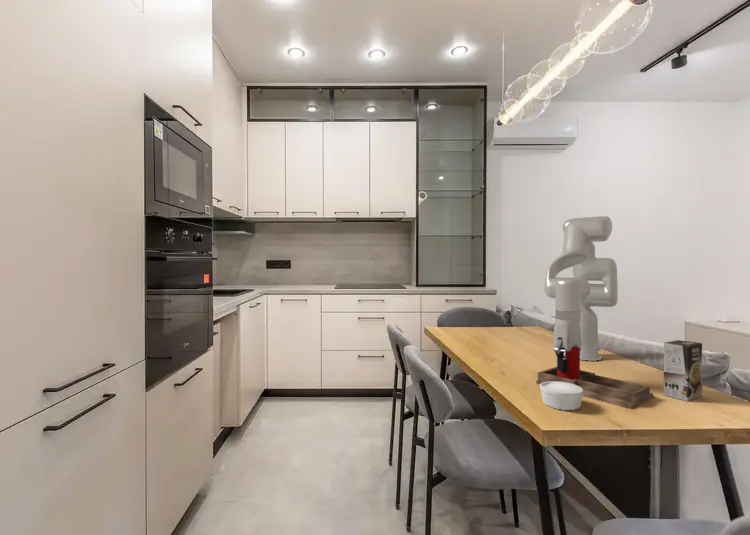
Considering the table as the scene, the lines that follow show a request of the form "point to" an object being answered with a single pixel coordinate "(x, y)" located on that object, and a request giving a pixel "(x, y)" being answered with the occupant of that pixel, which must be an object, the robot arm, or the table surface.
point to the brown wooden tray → (602, 388)
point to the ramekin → (561, 395)
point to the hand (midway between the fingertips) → (568, 368)
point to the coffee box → (683, 369)
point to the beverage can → (572, 364)
